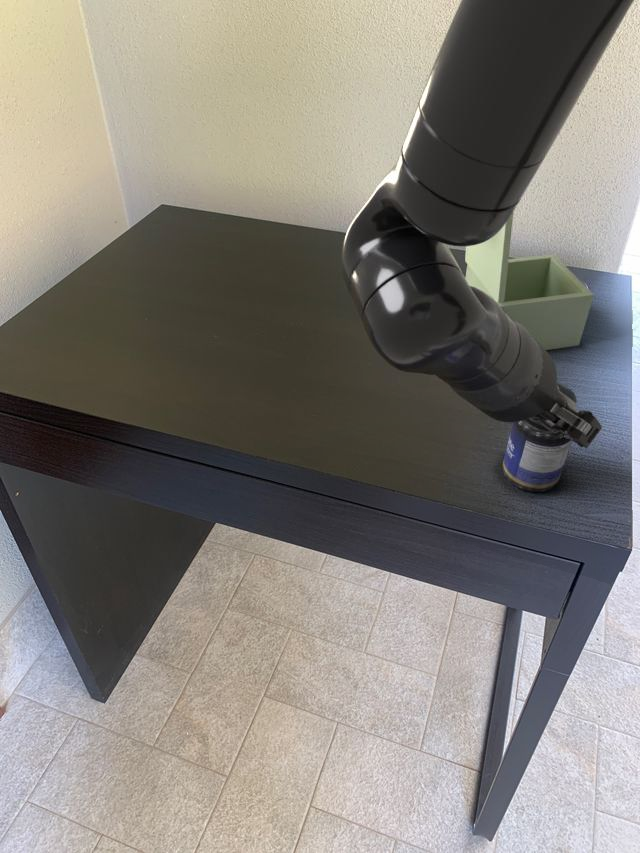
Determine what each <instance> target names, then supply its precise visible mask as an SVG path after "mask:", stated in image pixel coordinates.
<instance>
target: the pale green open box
mask: <svg viewBox="0 0 640 853" xmlns="http://www.w3.org/2000/svg"><path fill="white" fill-rule="evenodd" d="M466 264H467V263H466ZM465 279H466V281H467V283H468V284H469V285H470V286H473V287H476V288H478V289H480V290H482V291H483V292H485V293H486V294H488V295H489V296H490V297H492V298H493V296H492V295H491V294H490V292H489V291H488V290H487V289H486V287H485V286H484V285H483V283H482V282H481V281H480V280H479V278H478V277H477V276H476V274H475V273H474V272H473V271H472V269H471V268H470V267H469V265H468V264H467V265H466V271H465ZM594 296H595V294H594V293H593V292H592V291H591V290H590V289H589V288H588V287H587V286H586V285H585V284H584V283H583V282H582V281H581V280H580V279H579V278H578V277H577V276H576V275H575V274H574V273H573V272H572V271H571V270H570V269H569V268H568V267H567V266H566V265H565V264H564V263H563V262H562V261H561V260H560V259H559V257H557V256H556V255H555V254H554V253H552V254H551V253H550V254H544V255H535V256H525V257H518V258H509V260H508V269H507V279H506V289H505V298H504V302H502V303H498V304H499V305H500V306H501V307H502V308H503V309H504V310H505V312H506V313H507V314H508V315H509V316H510V317H512V318H513V319H515V320H516V321H518V322H519V323H520V324H521V325H523V326H524V327H525V328H526V329H527V331H528V332H529V333H530V334H531V335H532V336H533V337H534V338H535V339H536V340H537V342H538V343H539V344H540V345H541V346H542V347H543V348H544V349H545V350H546V351H548V350H556V349H565V348H572V347H579V346H580V344H581V340H582V337H583V333H584V330H585V326H586V324H587V320H588V317H589V313H590V310H591V307H592V303H593V298H594ZM493 299H494V298H493ZM494 300H495V299H494ZM495 301H496V300H495ZM496 302H497V301H496Z"/></svg>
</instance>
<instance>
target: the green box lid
mask: <svg viewBox="0 0 640 853" xmlns="http://www.w3.org/2000/svg"><path fill="white" fill-rule="evenodd" d="M514 211H515V210H514ZM514 211H513V213H512V215H511V216H510V218H509V219H508V221H507V222H506V223H505V225H504V226H503V227H502V228H501V230H500V231H499V232H498V233H497V234H496V235H494V236H493V237H492V238H490V239H489V240H487V241H485V242H483V243H480V244H478V245H473V246H465V256H464V258H465V259H464V262H465V263H466V264H468V265H469V267H470V268H471V269H472V271H473V272H474V273H475V274H476V276H477V277H478V278H479V280H480V281H481V282H482V283H483V285H484V286H485V287H486V289H487V290H488V291H489V292H490V294H491V295H492V296H493V298H494V299H495V300H496V301H497V303H502V302H504V298H505V289H506V279H507V269H508V260H509V259H510V249H511V240H512V231H513V230H512V229H513V221H514Z"/></svg>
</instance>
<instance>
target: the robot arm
mask: <svg viewBox="0 0 640 853" xmlns="http://www.w3.org/2000/svg"><path fill="white" fill-rule="evenodd" d="M634 2H635V0H460V3H459V5H458V7H457V9H456V12H455V14H454V15H453V18H452V20H451V22H450V24H449V26H448V29H447V31H446V33H445V35H444V38H443V40H442V43H441V45H440V48H439V50H438V53H437V55H436V57H435V59H434V62H433V64H432V67H431V70H430V72H429V74H428V77H427V80H426V82H425V84H424V87H423V89H422V92H421V95H420V98H419V100H418V103H417V105H416V108H415V111H414V114H413V116H412V119H411V121H410V125H409V127H408V130H407V132H406V135H405V138H404V141H403V143H402V146H401V149H400V152H399V155H398V159H397V160H396V162H395V164H394V165H393V166H392V168H391V169H390V170H389V171H388V172H387V173H386V175H385V176H384V178H383V179H382V180H381V181H380V183H379V184H378V185H377V186H376V187H375V189H374V190H373V192H372V193H371V195H370V196H369V198H368V199H367V201H366V202H365V203H364V205H362V207H361V209H360V210H359V212H358V213H356V215H355V217H354V218H353V220H351V223H350V224H349V227H348V229H347V231H346V233H345V237H344V239H343V244H342V250H341V259H340V262H341V264H340V266H341V274H342V277H343V281H344V283H345V286H346V288H347V290H348V292H349V296H350V298H351V300H352V302H353V305H354V306H355V310H356V312H357V314H358V316H359V318H360V321H361V323H362V325H363V328H364V331H365V333H366V335H367V337H368V340H369V341H370V343H371V345H372V347H373V348H374V350H375V352H377V354H378V355H379V356H380V357H381V358H382V359H383V360H384V361H385V362H386V363H387V364H388V365H390V366H391V367H392V368H394V369H396V370H398V371H400V372H404V373H413V374H422V375H429V376H436V377H437V378H439V380H442V381H443V382H444V383H446V384H447V385H448V386H449V387H450V388H451V389H452V391H453V392H454V393H455V394H457V395H458V396H459V397H460V398H462V399H463V400H464V401H466V402H468V403H469V404H470V405H472V406H474V407H475V408H476V409H478V410H479V411H481V412H482V413H483V414H485V415H486V416H488V417H489V418H491V419H493V420H496V421H498V422H502V423H503V422H504V423H513V422H519V421H523V420H526V419H529V420H531V421H532V422H537V423H539V424H540V425H542V426H543V427H545V428H546V429H548V430H549V431H551V432H553V433H557V432H561V433H562V434H564V437H566V438H567V439H569V438H570V439H571V440H572V442H573V443H575V444H576V445H577V446H578V447H580V448H581V449H583V448H585V449H588V448H589V446H590V445H591V444H592V442H593V441H594V439H595V438H596V437H597V436H598V434H599V433H600V432H601V430H602V429H603V426H602V425H601V423H600V422H599V420H598V418H597V417H596V416H595V415H594V413H593V412H591V411H590V410H585V409H583V410H582V409H580V410H579V411H578V410H577V402H576V403H575V402H574V401H573V400H571V399H570V398H569V397H567V396H566V395H565V394H563V393H562V392H561V391H560V390H559V387H558V386H557V385H556V384H557V383H558V372H557V367H556V364H555V361H554V359H553V358H552V356H551V355H550V353H548V350H545V349H544V348H543V347H542V346H541V345H540V344H539V343H538V342H537V340H536V339H535V338H534V337H533V336H532V335H531V334H530V333H529V332H528V331H527V329H526V328H525V327H524V326H523V325H521V324H520V323H519V322H518V321H516V320H515V319H513V318H512V317H510V316H509V315H508V314H507V313H506V312H505V310H504V309H503V308H502V307H501V306H500V305H499V304H498V303H497V302H496V301H495V300H494V299H493V298H492V297H490V296H489V295H488V294H486V293H485V292H483V291H482V290H480V289H478V288H476V287H473V286H470V285H469V284H468V283H467V281H466V279H465V278H466V276H465V275H464V272H463V271H462V270H461V267H460V266H459V264H458V262H457V260H456V259H455V257H454V255H453V253H452V252H451V249H450V248H449V246H452V247H453V246H454V247H466V246H473V245H478V244H480V243H483V242H485V241H487V240H489V239H490V238H492V237H493V236H494V235H496V234H497V233H498V232H499V231H500V230H501V228H502V227H503V226H504V225H505V223H506V222H507V221H508V219H509V218H510V216H511V215H512V213H513V214H514V212H513V211H516V208H517V207H518V205H519V203H520V202H521V200H522V198H523V196H524V195H525V193H526V191H527V190H528V188H529V187H530V185H531V183H532V182H533V179H534V178H535V176H536V174H537V173H538V171H539V169H540V167H541V165H542V164H543V162H544V161H545V159H546V157H547V155H548V153H549V151H550V150H551V149H552V146H553V144H554V143H555V142H556V139H557V138H558V136H559V134H560V133H561V131H562V129H563V127H564V125H565V124H566V122H567V120H568V118H569V116H570V114H571V113H572V111H573V110H574V107H575V106H576V104H577V102H578V100H579V98H580V96H581V95H582V93H583V92H584V89H585V88H586V86H587V84H588V82H589V80H590V78H591V77H592V75H593V73H594V71H595V70H596V68H597V66H598V64H599V62H600V61H601V59H602V57H603V55H604V53H605V52H606V50H607V49H608V46H609V45H610V42H611V41H612V39H613V38H614V35H615V34H616V32H617V30H618V28H620V25H621V23H622V22H623V20H624V18H625V16H626V15H627V13H628V12H629V10H630V8H631V6H632V5H633V3H634ZM538 415H539V416H538ZM541 417H543V418H545V419H547V420H544V419H543V418H541ZM565 422H566V423H567V426H566V427H565V428H564V427H563V424H564V423H565Z"/></svg>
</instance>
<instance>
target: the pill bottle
mask: <svg viewBox="0 0 640 853" xmlns="http://www.w3.org/2000/svg"><path fill="white" fill-rule="evenodd" d="M556 385H557V386H558V387H559V390H560V391H561V392H562V393H563V394H565V395H566V396H567V397H569V398H570V399H571V400H573V401H574V402H575V403H576V404H577V396H576V394H575V393H574V391H573V390H571V389H570V388H569V387H568V386H566V385H564V384H562V383H559V382H557V384H556ZM538 416H539V415H538ZM541 418H543V417H541ZM543 419H544V420H547V419H545V418H543ZM566 426H567V423H566V422H565V423H564V424H563V427H564V428H565V427H566ZM572 442H573V441H572V440H571V439H570V438H569V439H567V438H566V437H564V434H562V433H561V432H557V433H553V432H551V431H549V430H548V429H546V428H545V427H543V426H542V425H540V424H539V423H537V422H532V421H531V420H529V419H526V420H523V421H519V422H512V425H511V429H510V432H509V436H508V440H507V445H506V449H505V453H504V457H503V461H502V467H501V468H502V473H503V475H504V476H505V478H506V479H507V480H508V481H509V483H510V484H511V485H513V486H514V487H516V488H518V489H519V490H522V491H527V492H530V493H542V492H547V491H549V490H551V489H553V488H554V487H555V486H556V485H557V484H558V483H559V480H560V478H561V476H562V472H563V470H564V468H565V463H566V461H567V457H568V454H569V451H570V448H571V445H572Z"/></svg>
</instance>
